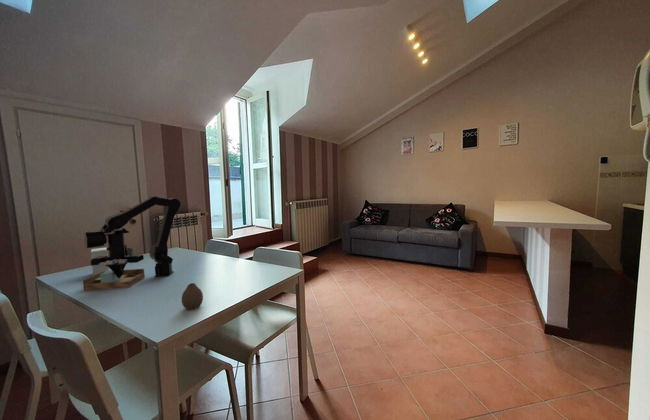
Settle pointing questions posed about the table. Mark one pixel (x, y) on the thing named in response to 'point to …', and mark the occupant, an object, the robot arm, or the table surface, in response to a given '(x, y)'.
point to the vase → (192, 297)
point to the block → (108, 277)
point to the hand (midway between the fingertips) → (119, 277)
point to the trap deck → (125, 281)
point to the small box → (102, 265)
